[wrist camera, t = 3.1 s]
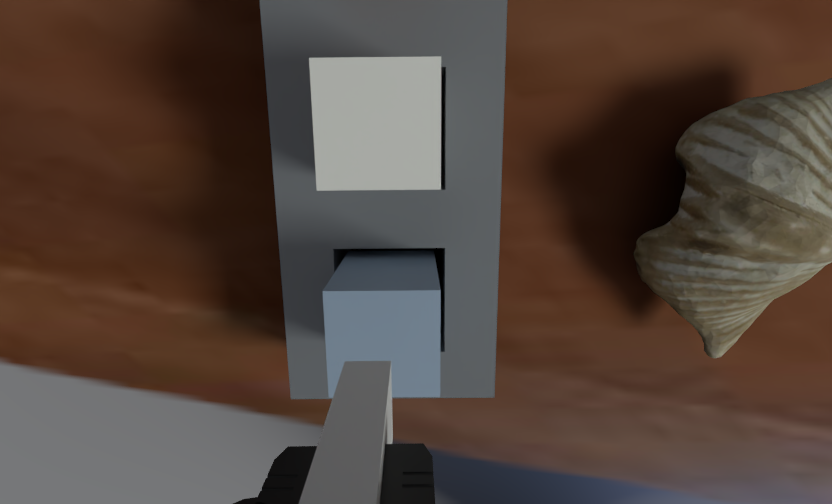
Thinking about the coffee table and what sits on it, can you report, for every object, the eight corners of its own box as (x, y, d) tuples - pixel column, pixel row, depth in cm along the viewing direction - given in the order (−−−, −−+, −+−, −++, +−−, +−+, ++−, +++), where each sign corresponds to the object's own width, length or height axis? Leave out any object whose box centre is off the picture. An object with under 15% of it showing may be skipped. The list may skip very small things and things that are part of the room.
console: (283, -138, 24) (241, -228, 18) (491, -141, 24) (514, -232, 18) (314, 350, 31) (290, 398, 25) (479, 349, 31) (494, 397, 25)
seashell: (794, 384, 25) (865, 336, 17) (617, 329, 30) (607, 272, 22) (842, 168, 29) (920, 43, 21) (676, 151, 34) (686, 45, 26)
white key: (341, 84, 23) (308, 57, 16) (433, 83, 23) (441, 56, 16) (345, 177, 24) (316, 190, 17) (433, 176, 24) (440, 189, 17)
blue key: (348, 250, 25) (322, 291, 18) (433, 250, 25) (440, 290, 18) (351, 330, 26) (328, 397, 19) (434, 330, 26) (440, 396, 19)
